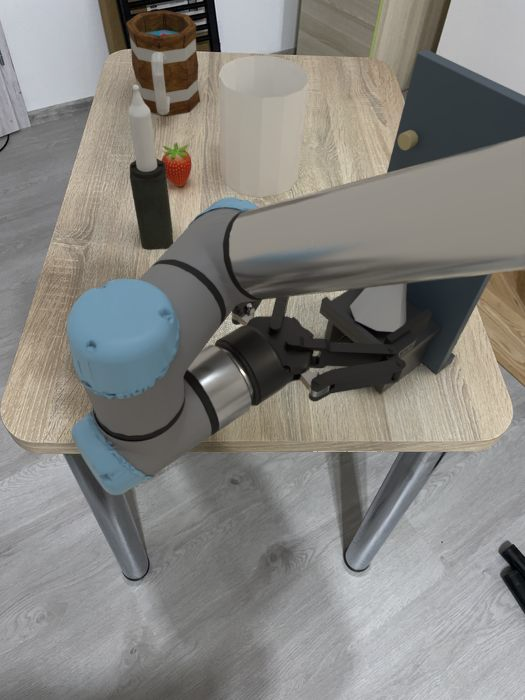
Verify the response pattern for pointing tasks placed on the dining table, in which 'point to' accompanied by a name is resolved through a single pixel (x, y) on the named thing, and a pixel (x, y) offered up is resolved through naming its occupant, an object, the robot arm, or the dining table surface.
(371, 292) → the flask
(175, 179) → the fruit
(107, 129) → the dining table surface
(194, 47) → the mug
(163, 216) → the candle
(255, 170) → the container
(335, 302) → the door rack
